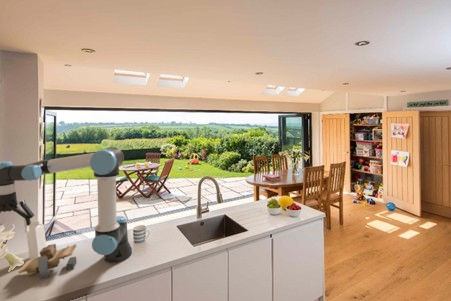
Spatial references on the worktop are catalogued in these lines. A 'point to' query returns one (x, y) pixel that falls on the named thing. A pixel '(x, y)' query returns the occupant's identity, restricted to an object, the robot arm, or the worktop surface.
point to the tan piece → (33, 266)
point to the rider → (48, 251)
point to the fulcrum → (44, 266)
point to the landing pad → (71, 263)
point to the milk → (35, 239)
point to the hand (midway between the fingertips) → (11, 233)
